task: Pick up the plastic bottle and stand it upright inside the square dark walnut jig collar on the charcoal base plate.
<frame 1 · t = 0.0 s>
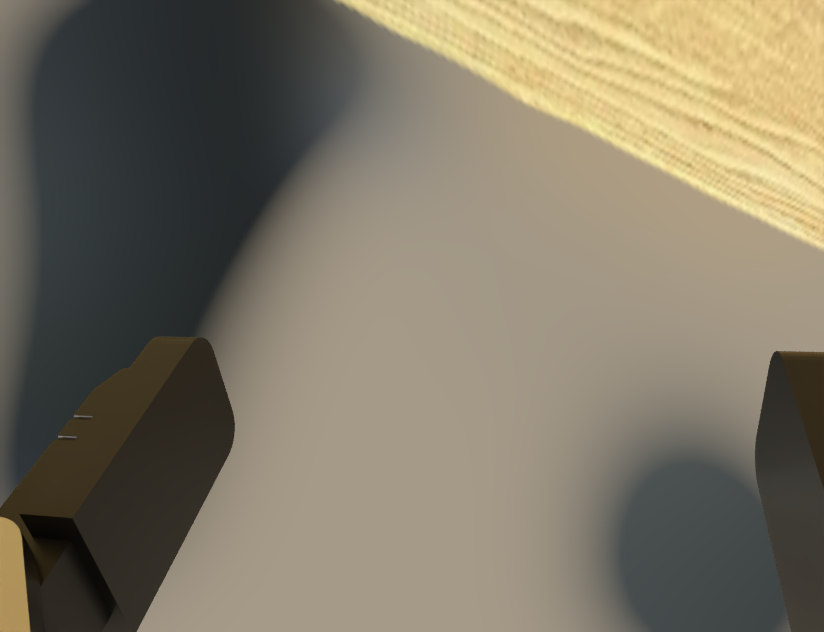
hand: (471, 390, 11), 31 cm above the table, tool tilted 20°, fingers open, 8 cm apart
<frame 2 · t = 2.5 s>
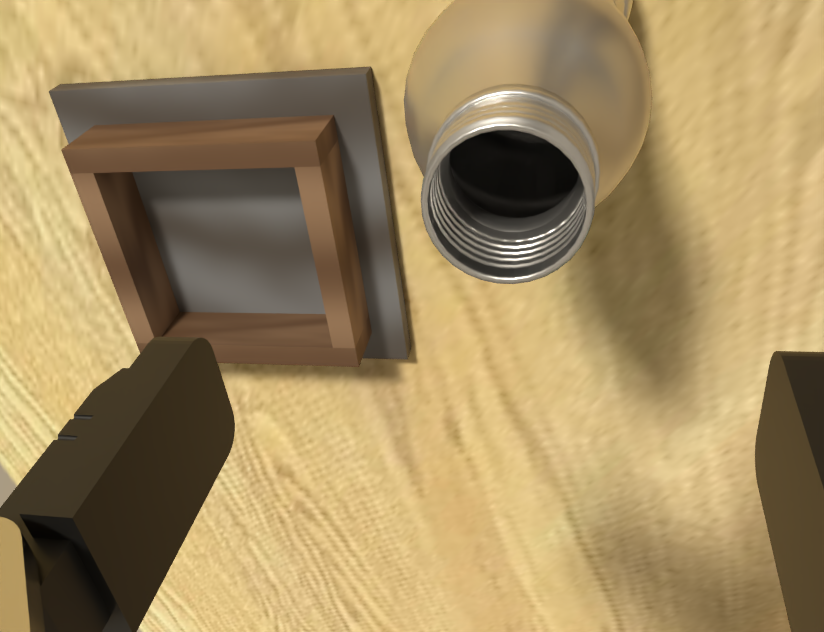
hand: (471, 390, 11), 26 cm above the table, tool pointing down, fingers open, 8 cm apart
jig collar: (247, 225, 42), on the table
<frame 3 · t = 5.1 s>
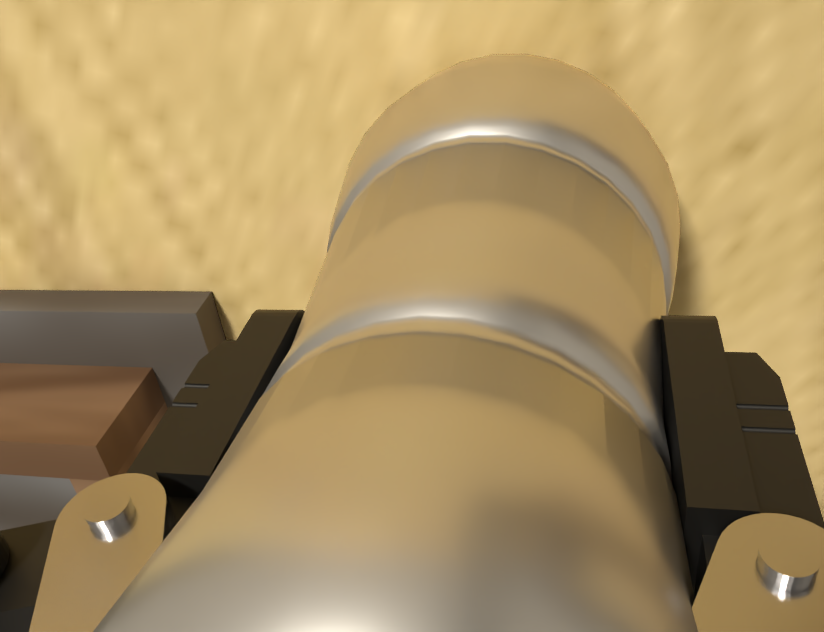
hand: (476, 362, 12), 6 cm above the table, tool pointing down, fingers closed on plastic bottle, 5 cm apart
plastic bottle: (515, 175, 17), on the table, touching gripper
jig collar: (54, 486, 27), on the table
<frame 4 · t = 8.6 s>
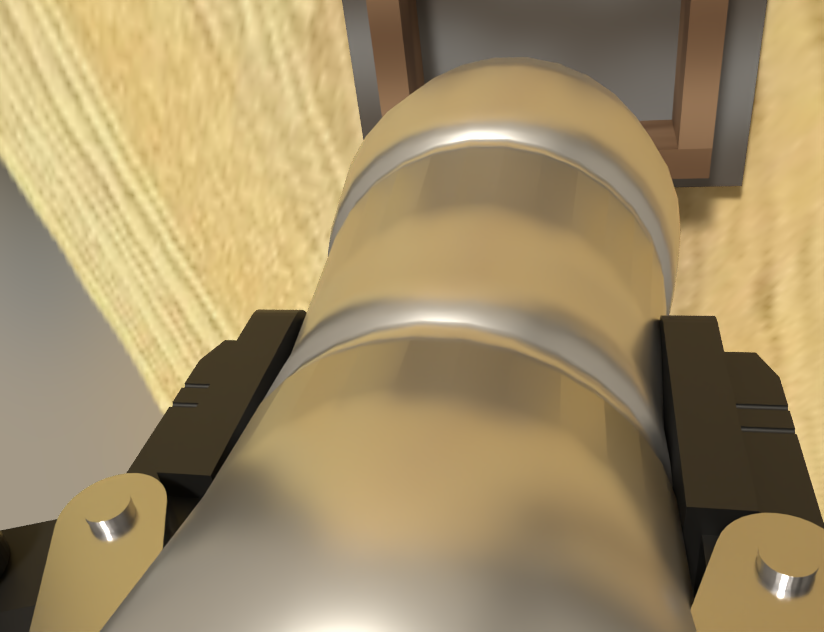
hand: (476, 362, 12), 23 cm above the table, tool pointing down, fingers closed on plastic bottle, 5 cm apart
plastic bottle: (515, 178, 17), point 17 cm above the table, touching gripper
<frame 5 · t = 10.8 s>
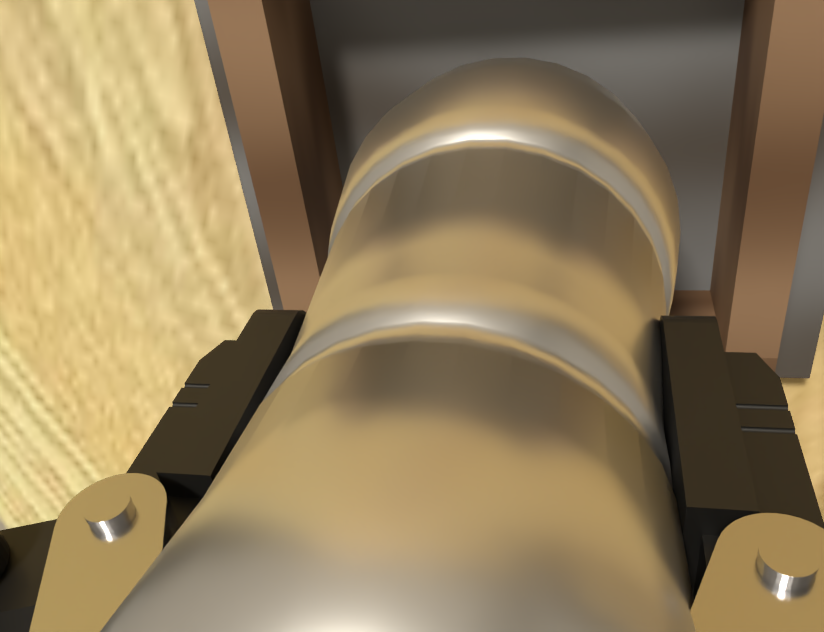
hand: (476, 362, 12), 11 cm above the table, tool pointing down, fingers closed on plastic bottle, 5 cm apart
plastic bottle: (515, 178, 17), point 4 cm above the table, touching gripper
jig collar: (523, 109, 21), on the table
when the fingers open (9 cm above the table, at t = 12.2 s): plastic bottle drops 1 cm, resting on jig collar.
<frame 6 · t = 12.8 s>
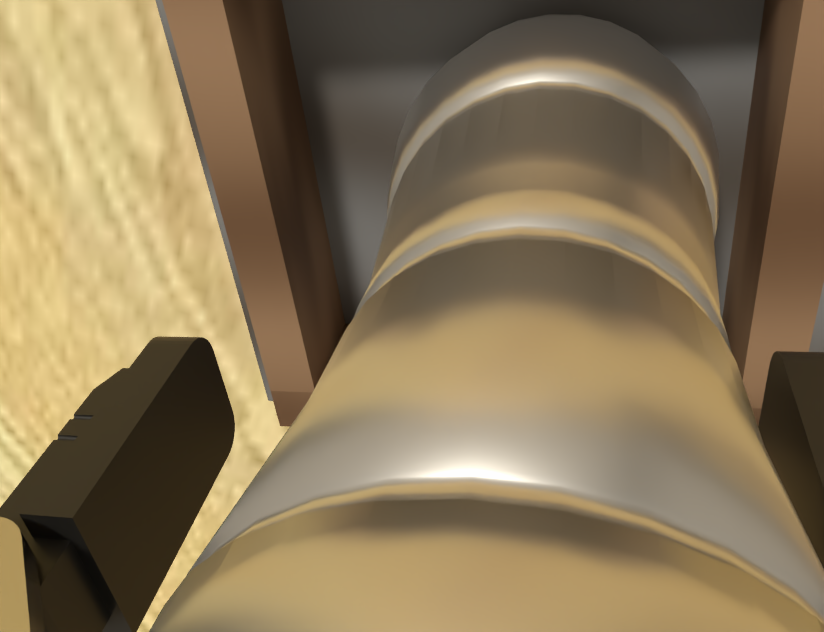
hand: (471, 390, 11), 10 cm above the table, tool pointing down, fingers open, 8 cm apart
plastic bottle: (554, 136, 18), point 1 cm above the table, touching jig collar
jig collar: (519, 135, 19), on the table
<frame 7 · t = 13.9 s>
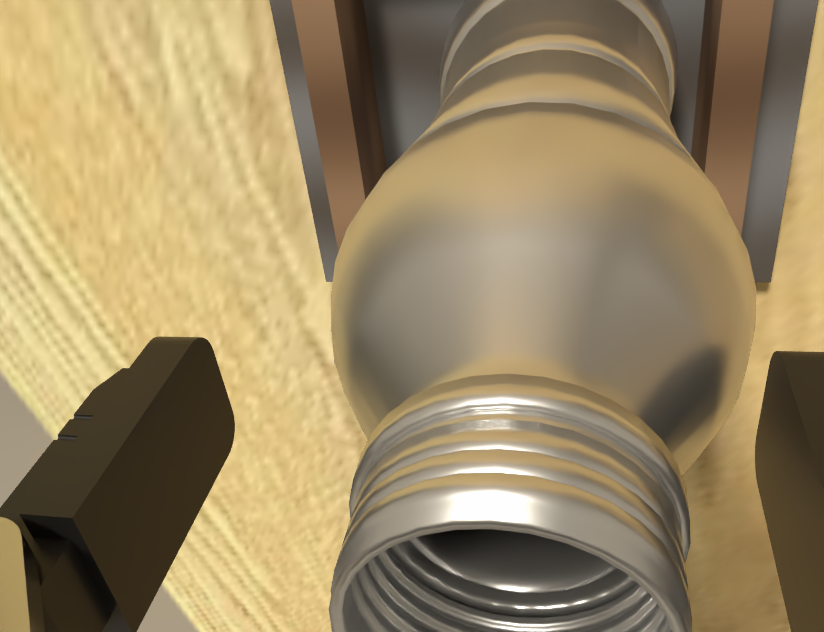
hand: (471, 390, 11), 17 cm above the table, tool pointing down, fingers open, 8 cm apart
plastic bottle: (558, 49, 24), point 1 cm above the table, touching jig collar
jig collar: (531, 52, 25), on the table
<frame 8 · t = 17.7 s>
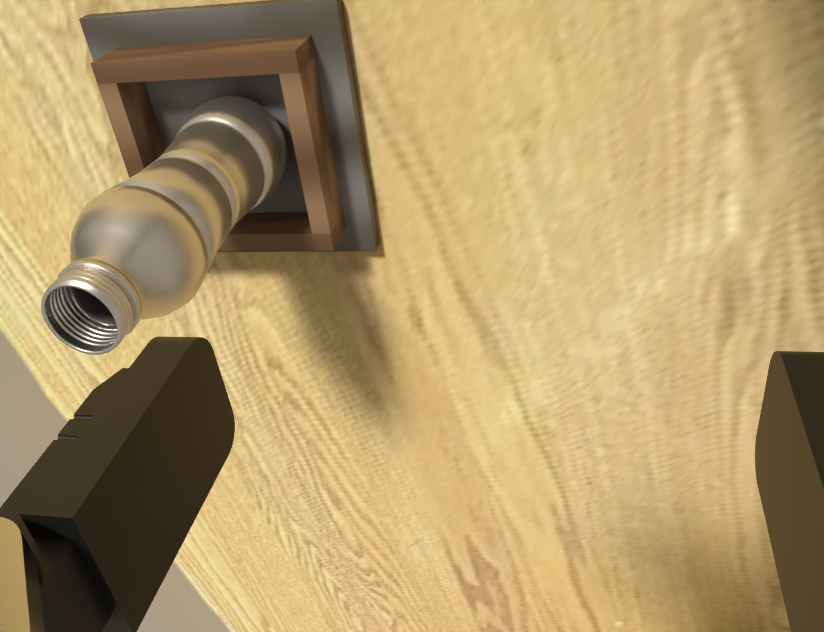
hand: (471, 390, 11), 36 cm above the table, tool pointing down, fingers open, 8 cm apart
plastic bottle: (248, 135, 49), point 1 cm above the table, touching jig collar
jig collar: (241, 135, 50), on the table
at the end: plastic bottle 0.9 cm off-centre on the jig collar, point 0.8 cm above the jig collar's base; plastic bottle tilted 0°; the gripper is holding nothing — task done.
